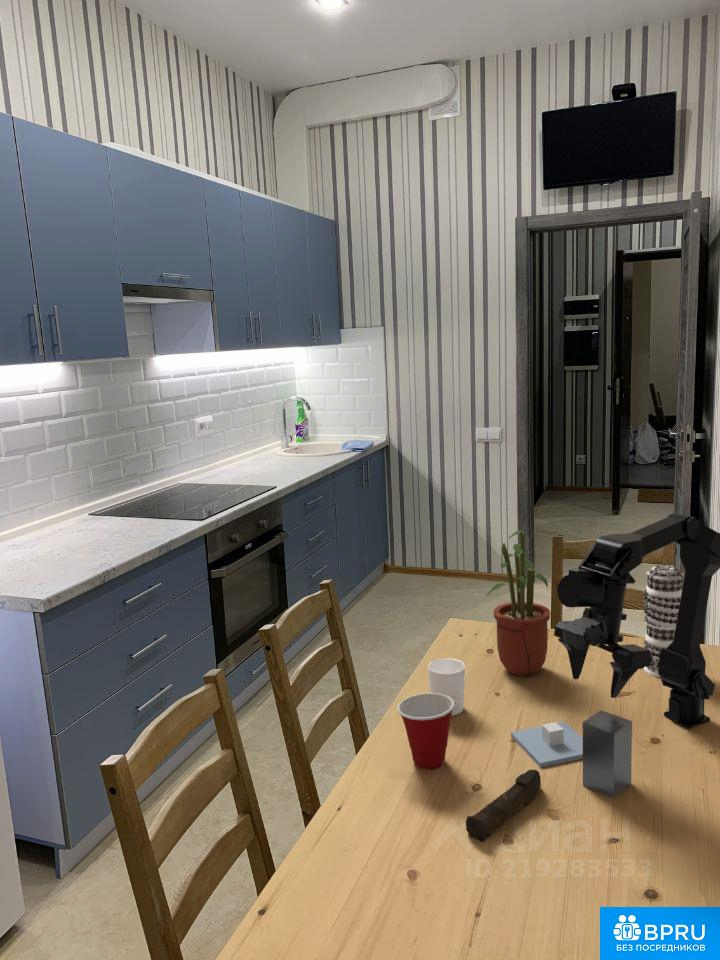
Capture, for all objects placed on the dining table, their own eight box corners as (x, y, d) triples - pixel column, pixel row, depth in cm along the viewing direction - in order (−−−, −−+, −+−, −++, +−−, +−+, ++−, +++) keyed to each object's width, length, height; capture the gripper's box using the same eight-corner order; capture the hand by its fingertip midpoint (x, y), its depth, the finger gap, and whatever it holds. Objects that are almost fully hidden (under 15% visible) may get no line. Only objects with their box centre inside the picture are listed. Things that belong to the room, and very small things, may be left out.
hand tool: (484, 847, 120) (483, 820, 119) (464, 835, 123) (464, 809, 122) (553, 796, 132) (553, 771, 131) (534, 786, 135) (534, 763, 134)
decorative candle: (637, 673, 176) (638, 570, 171) (647, 659, 183) (649, 560, 179) (678, 682, 171) (681, 576, 166) (687, 666, 178) (690, 564, 174)
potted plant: (556, 681, 174) (555, 534, 168) (489, 684, 175) (485, 538, 168) (539, 650, 192) (538, 516, 185) (478, 653, 192) (475, 519, 186)
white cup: (425, 714, 162) (423, 671, 160) (435, 698, 169) (434, 656, 168) (461, 720, 159) (459, 675, 157) (470, 703, 166) (468, 660, 165)
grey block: (600, 770, 138) (600, 709, 136) (631, 783, 134) (632, 721, 132) (582, 784, 134) (582, 722, 132) (613, 798, 130) (614, 734, 128)
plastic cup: (418, 741, 152) (415, 685, 150) (466, 755, 145) (464, 697, 143) (388, 767, 143) (385, 708, 141) (438, 783, 137) (436, 722, 135)
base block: (564, 728, 155) (564, 707, 154) (597, 758, 143) (597, 736, 143) (510, 738, 152) (510, 718, 151) (540, 770, 140) (539, 748, 140)
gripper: (538, 593, 142) (527, 672, 144) (616, 622, 126) (602, 712, 128) (581, 592, 148) (569, 669, 149) (660, 620, 132) (646, 706, 133)
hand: (594, 688), depth 140 cm, fingers open, 9 cm apart
